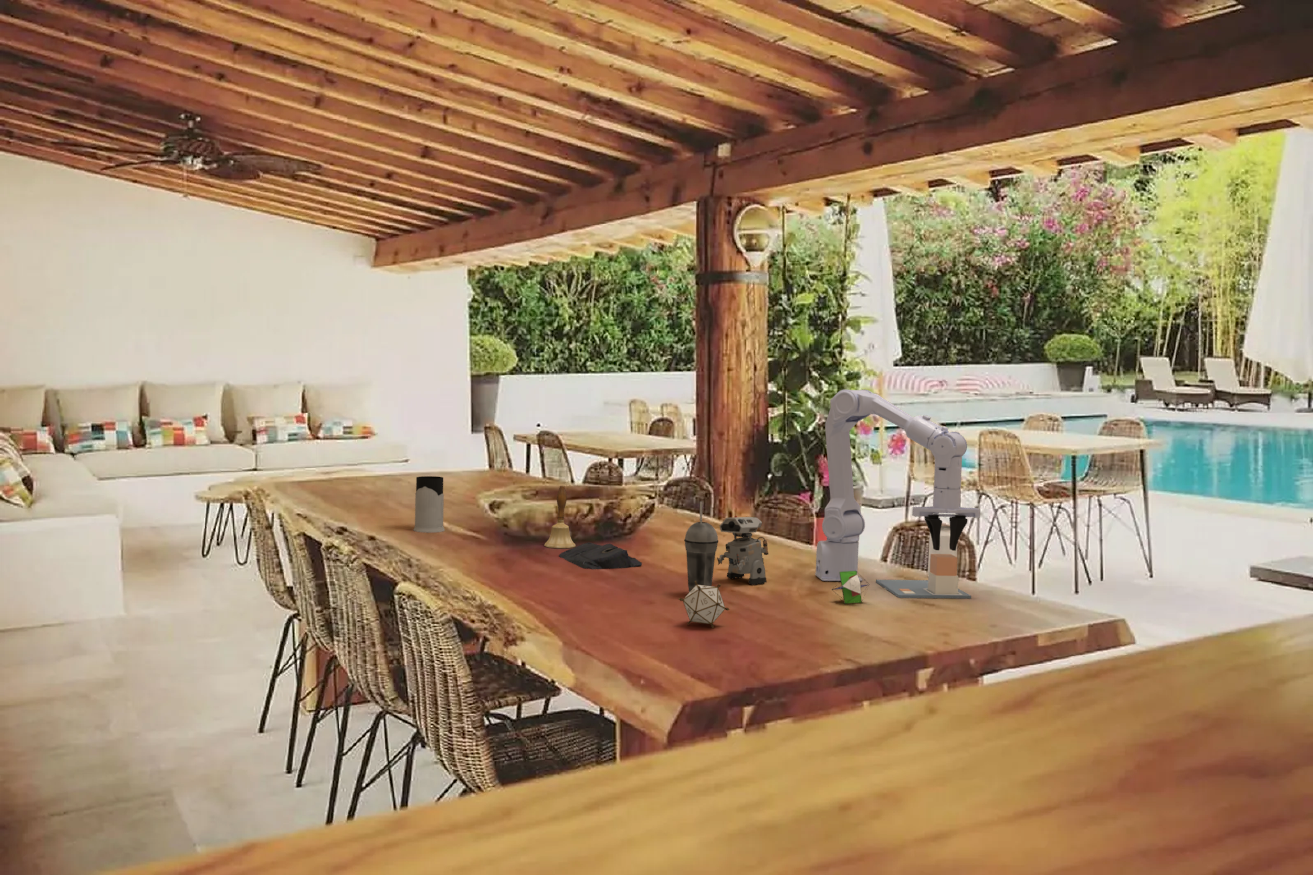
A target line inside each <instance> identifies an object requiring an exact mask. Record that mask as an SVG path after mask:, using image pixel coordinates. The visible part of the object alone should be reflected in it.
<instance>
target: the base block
mask: <svg viewBox="0 0 1313 875" xmlns="http://www.w3.org/2000/svg"><path fill="white" fill-rule="evenodd" d="M927 575H928V574H927ZM927 578H928V579H927V580H928V590H929V591H931V592H933V593H934V594H958V589H959V575H957V576H937V575H935V574H933V573H931V572H929V575H928V577H927Z"/></svg>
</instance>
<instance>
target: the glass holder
mask: <svg viewBox="0 0 1313 875" xmlns="http://www.w3.org/2000/svg"><path fill="white" fill-rule="evenodd" d="M415 487H416V488H415V493H414V494H415V495H414V496H415V498H414V500H415V501H414V507H415V508H414V528H413V531H414V532H417V533H426V534H428V533H441V532H445V531H446V530H445V527H444V505H445V504H444V502H445V501H444V500H445V498H444V496H445V494H444V477H443V476H436V475H432V476H431V475H429V476H428V475H422V476H416V479H415Z"/></svg>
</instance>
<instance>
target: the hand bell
mask: <svg viewBox="0 0 1313 875" xmlns="http://www.w3.org/2000/svg"><path fill="white" fill-rule="evenodd" d="M558 488H559V489H558V491H557V494H556V505H557V510H558V512H557V521H556V523H555V524H553V525H552V526H551V531H550V532H551V533H550V536H549V538H548V540H547V541H546V542H545V543H544V545H543V546H544V547H546V548H550V549H551V548H552V549H553V548H554V549H573V548H575V547H577V546H576V545H577V544H576V543H574V541H573V540H572V537H571V533H570V528H569V527H570V526H569V525H567V524H565V507H566V504H567V491H566V486H565V485H560V486H559V487H558Z"/></svg>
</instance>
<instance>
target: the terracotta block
mask: <svg viewBox="0 0 1313 875" xmlns="http://www.w3.org/2000/svg"><path fill="white" fill-rule="evenodd" d="M930 572H931V573H933V574H935V575H937V576H958V575H957V574H958V556H957V557H955V556H953V555H951V554H931V559H930Z"/></svg>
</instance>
